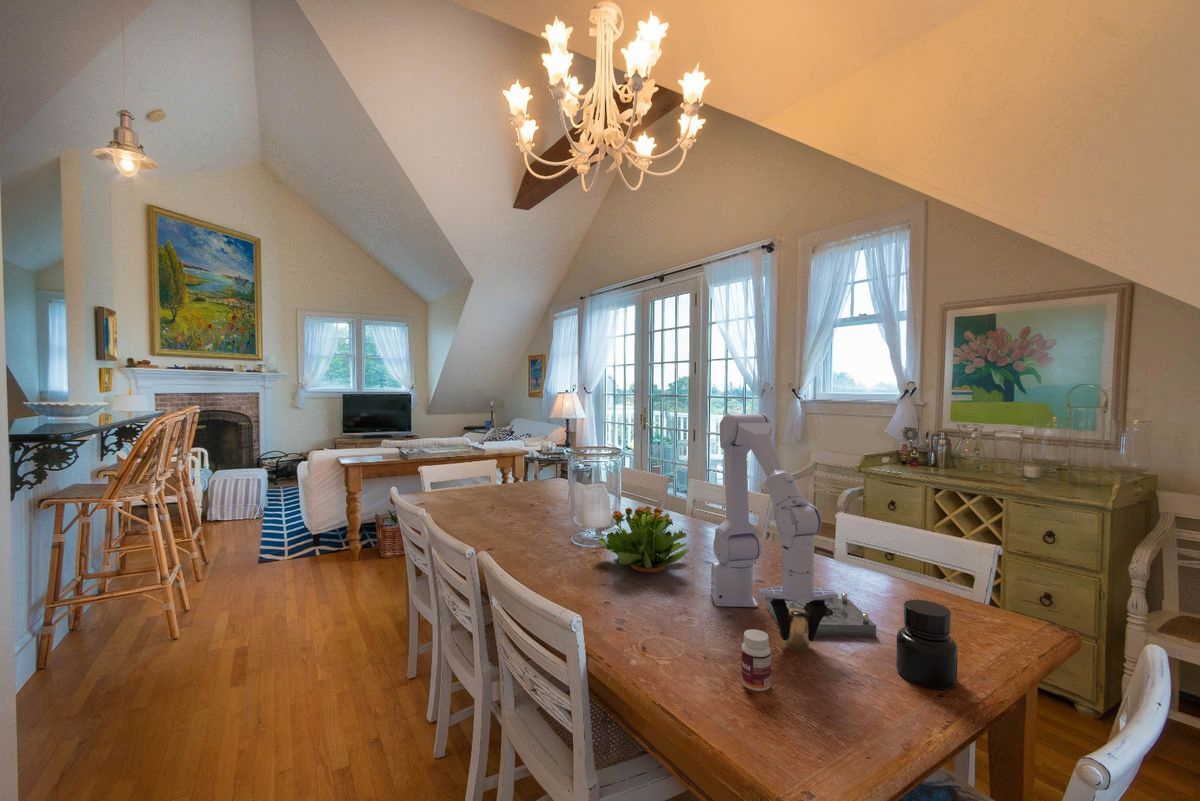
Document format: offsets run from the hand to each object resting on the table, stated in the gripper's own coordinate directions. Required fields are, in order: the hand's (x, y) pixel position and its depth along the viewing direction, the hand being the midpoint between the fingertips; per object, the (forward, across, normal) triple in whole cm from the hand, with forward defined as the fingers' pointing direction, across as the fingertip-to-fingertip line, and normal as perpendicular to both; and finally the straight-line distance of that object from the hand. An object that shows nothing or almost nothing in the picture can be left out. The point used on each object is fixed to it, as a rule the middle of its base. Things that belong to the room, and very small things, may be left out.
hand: (796, 638), depth 99 cm
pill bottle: (+2, -11, -13) cm, 17 cm away
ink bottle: (+2, +19, -9) cm, 21 cm away
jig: (+2, +8, +11) cm, 14 cm away
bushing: (+2, 0, 0) cm, 2 cm away
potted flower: (+2, -26, +42) cm, 49 cm away
